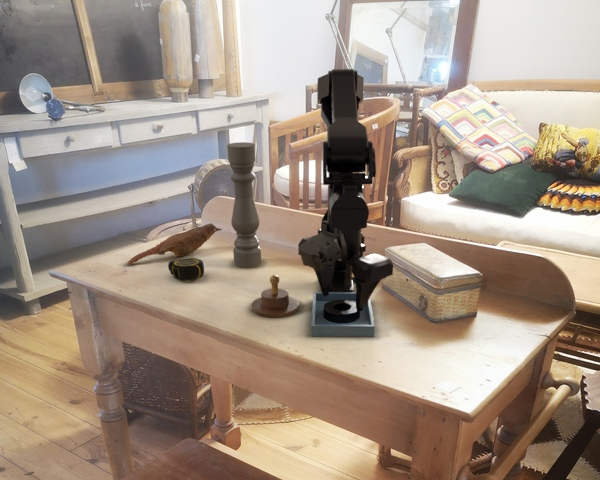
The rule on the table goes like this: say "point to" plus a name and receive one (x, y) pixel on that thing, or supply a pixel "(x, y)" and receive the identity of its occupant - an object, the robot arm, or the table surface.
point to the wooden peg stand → (275, 302)
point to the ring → (341, 311)
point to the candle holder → (244, 205)
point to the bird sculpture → (181, 242)
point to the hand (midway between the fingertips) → (342, 303)
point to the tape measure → (187, 268)
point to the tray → (353, 329)
